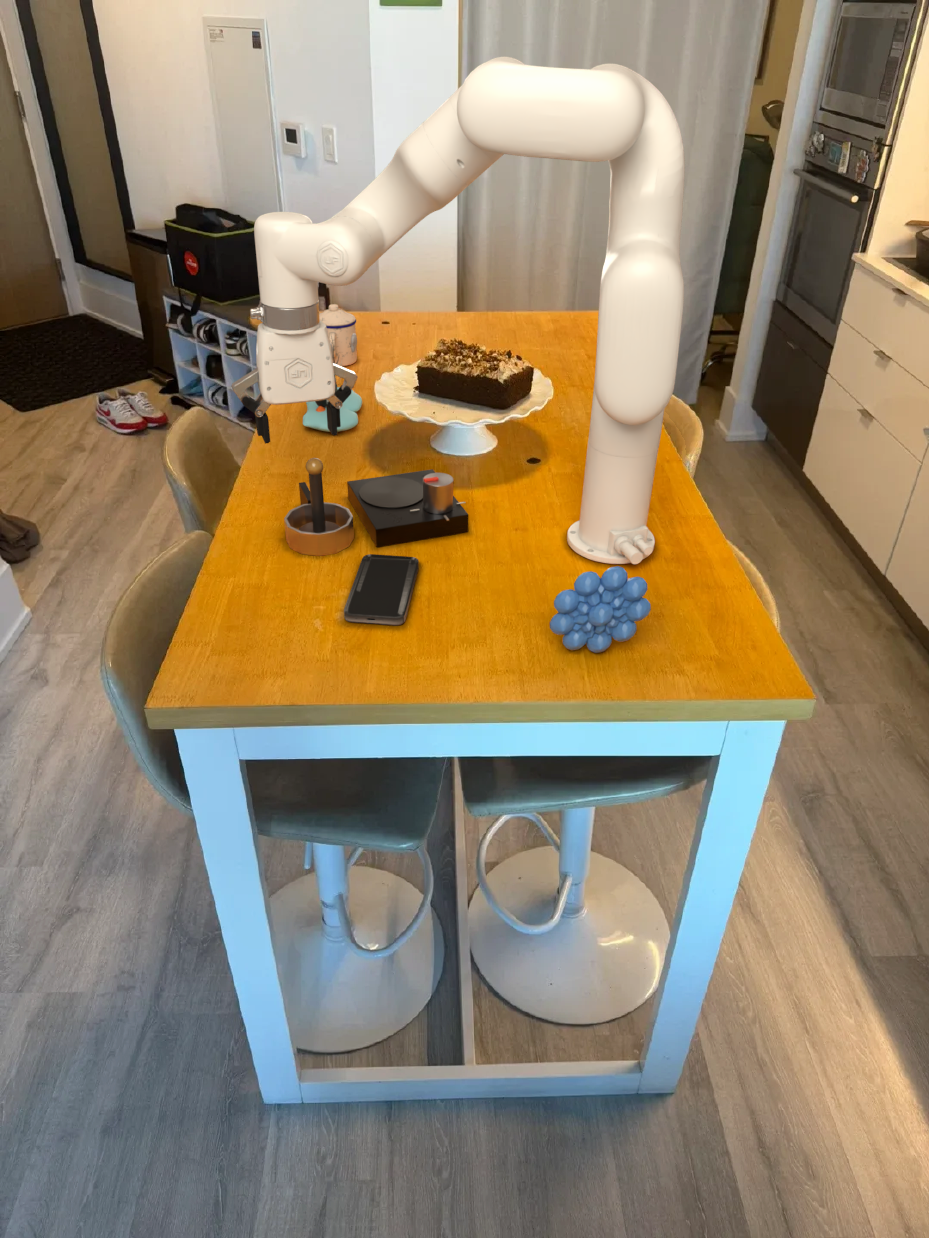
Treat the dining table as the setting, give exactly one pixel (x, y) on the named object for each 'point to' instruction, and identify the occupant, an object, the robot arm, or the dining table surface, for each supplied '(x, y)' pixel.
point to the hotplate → (406, 516)
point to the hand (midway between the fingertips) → (299, 435)
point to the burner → (391, 492)
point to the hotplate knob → (438, 493)
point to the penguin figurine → (348, 417)
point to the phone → (382, 590)
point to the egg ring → (325, 540)
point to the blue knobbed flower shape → (600, 609)
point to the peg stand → (317, 499)
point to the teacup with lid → (340, 333)
